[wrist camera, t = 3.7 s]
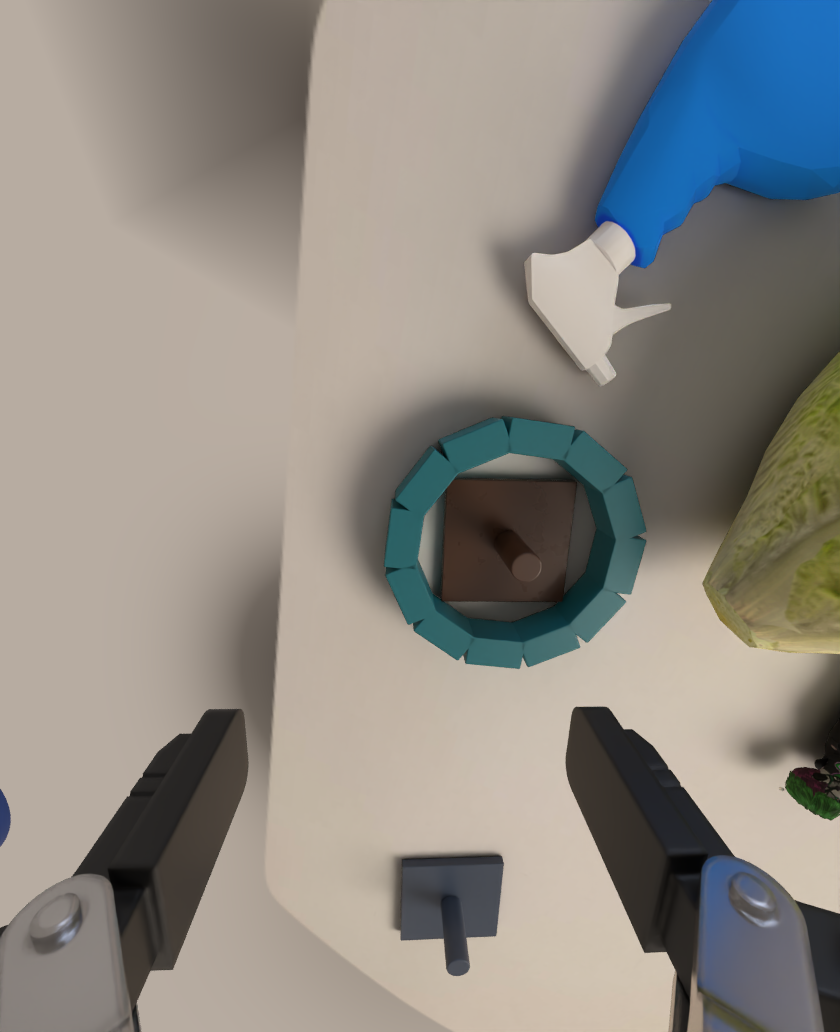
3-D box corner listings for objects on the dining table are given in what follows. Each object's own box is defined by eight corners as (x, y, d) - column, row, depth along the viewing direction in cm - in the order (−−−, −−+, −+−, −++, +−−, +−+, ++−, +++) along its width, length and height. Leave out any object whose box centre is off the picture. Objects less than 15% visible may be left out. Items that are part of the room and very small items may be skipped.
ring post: (440, 597, 27) (448, 635, 22) (445, 477, 25) (456, 493, 20) (559, 597, 27) (590, 634, 23) (573, 480, 25) (610, 495, 21)
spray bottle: (982, -302, 15) (485, 232, 19) (1091, -17, 18) (629, 408, 22) (892, -194, 18) (474, 253, 22) (995, 41, 21) (602, 407, 25)
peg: (400, 931, 34) (401, 1009, 30) (402, 859, 32) (403, 930, 28) (494, 927, 34) (509, 1003, 30) (502, 855, 32) (518, 925, 28)
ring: (374, 633, 27) (372, 655, 25) (404, 401, 24) (404, 401, 21) (590, 655, 28) (607, 677, 26) (649, 437, 25) (675, 441, 23)
